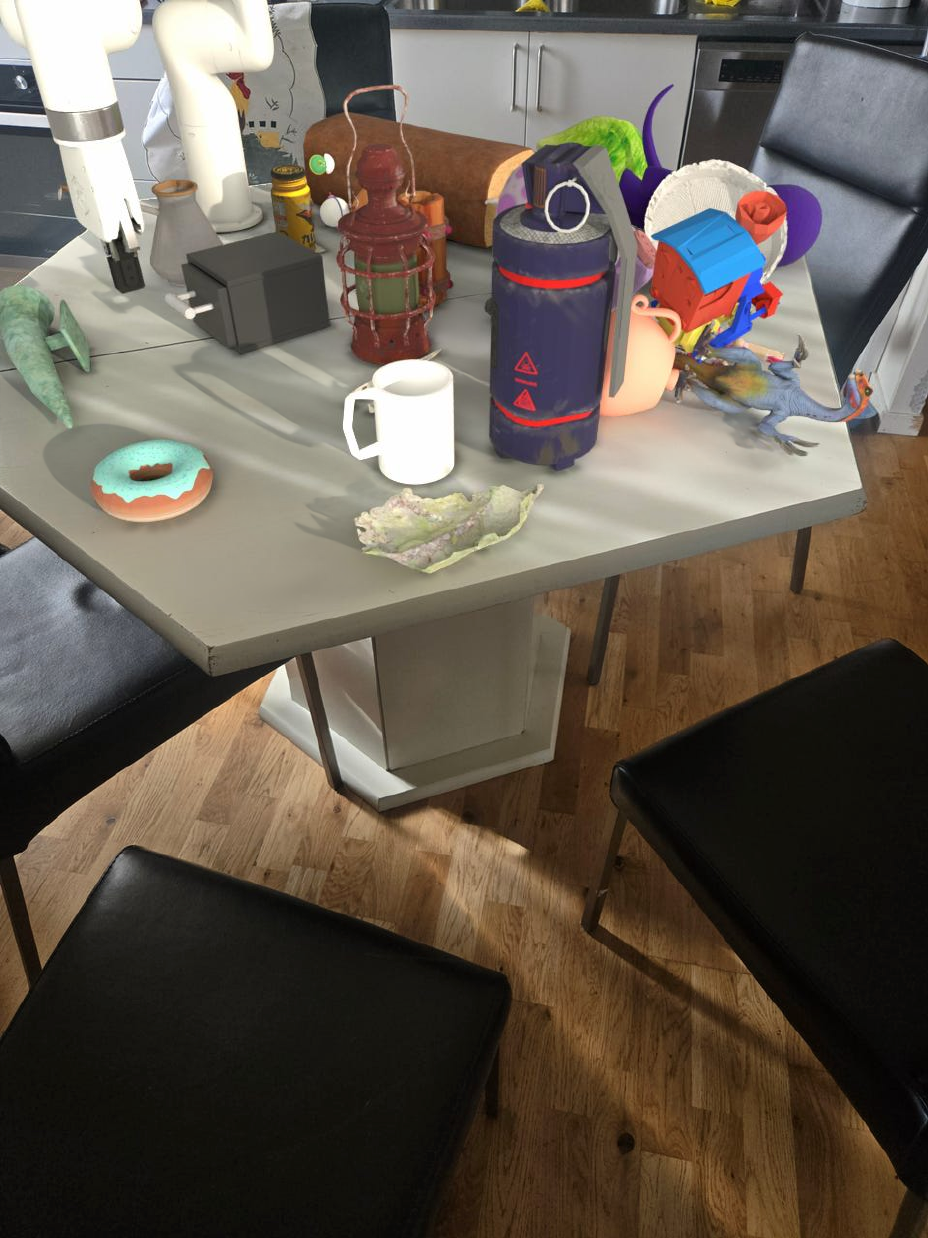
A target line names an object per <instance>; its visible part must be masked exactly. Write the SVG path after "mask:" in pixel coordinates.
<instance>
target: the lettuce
mask: <svg viewBox="0 0 928 1238" xmlns="http://www.w3.org/2000/svg"><path fill="white" fill-rule="evenodd" d="M569 142H575V143H580V144H582V145H583V146H593V145H599V146H604V147H606V149H607V152H608V155H609V158H610V161H611V164H612V167H613V170H614V173H615V176H616V179H617V182H618V185H619V182H620V179H621V175H622V173H623V171H624V169H625V168H628V169H630V170H631V171H632V172H633V173H634V174H635V175H637V176H638V177H639V178H640V179H641V180H642V178H643V174H644V171H645V169H646V168H647V167H648V166H647V162H646V158H645V155H644V150H643V143H642V134H641V132H640V131H639V130H638V128H637V127H636V126H635V125H634V124H633V123H632V122H630V121H629V120H625V119H619V118H615V117H612V116H601V115H599V116H596V115H595V116H593V117H589V118H587V119H584V120H582V121H579V122H578V123H576V124H573V125H572V126H570V127H568V128H566V129H564V130H562V131H561V132H557V133H554V134H552V135H550V136H546V137H543V138H541V139H539V140H538V141H537V143H536V152H537V151H538V150H539V149H541V148H542V147H543V146H545V145H559V144H564V143H569Z"/></svg>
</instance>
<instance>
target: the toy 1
mask: <svg viewBox="0 0 928 1238" xmlns="http://www.w3.org/2000/svg"><path fill="white" fill-rule="evenodd" d="M309 165H310V169H311V170H312V172H314V173H315V174H318V175H320V174H323V173H324V172H325V171H326V173H327V174H330V173H331V172H332V171H333V170H334V166H335V163H334V160H333V158H332V157H331V156H330V155H329V154H324V158H323V157H322V156H320V155H314V156H312V157H311V159H310V162H309ZM329 193H330V192H329ZM347 213H350V211H349V207H348V205H347V203H346V202H345V201H344V200H343V199H341V198H337V197H335V196H333V195H332V194H330V196H329V197H328V198H327V200H326V201H325V202H324V203H323V204H322V206H320V207H319V210H318V216H319V219H320V221H321V222H322V223H323V224H324V225H325V226H328V227H331V228H335V229H336V230H338V231H339V228H338V221H339V219H340V218H341V217H342V216H344V215H345V214H347ZM339 233H341V232H340V231H339Z"/></svg>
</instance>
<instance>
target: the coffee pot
mask: <svg viewBox="0 0 928 1238" xmlns="http://www.w3.org/2000/svg"><path fill="white" fill-rule="evenodd" d="M197 189H198V185H197V184H196V183H195V182H193V181H189V179H168V180H164V181H161V182H159V183H155V184H154V185H153V186H152V187H151V193H152V194H153V195H155V197H156V200H157V201H158V203H159V205H158V208H157V207H153V206H149V205H145V204H141V203H140V206H141V211H142V213H147V214H150V215H154V216H156V222H155V227H154V232H153V239H152V244H151V250H150V255H149V264H150V267H151V268H152V270H153V271H154V272H155V273H156V274H157V275H158V276H159V277H160V278H162V279H163V280H166V281H167V282H168V283H169V284H171V285H172V286H176V287H183V288H186V285H185V280H184V275H183V271H182V266H181V265H182V264H186V263H188V260H187V256H186V254H189V253H193V252H196V251H200V250H204V249H208V248H212V247H216V246H220V245H224V243H223V241H222V240H221V238H220V237H219V235H218V234H217V233H218V232H215V230H214V229H213V227H212V225H211V224H210V222H209V221H208V219H207V217H206V216H205V214H204V213H203V211H202V209H201V208H200V206H199V205H198V203H197V201H196V190H197ZM63 192H66V193H70V192H69V188H68V184H58V192H57V200H58V201H61V199H62V193H63Z"/></svg>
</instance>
